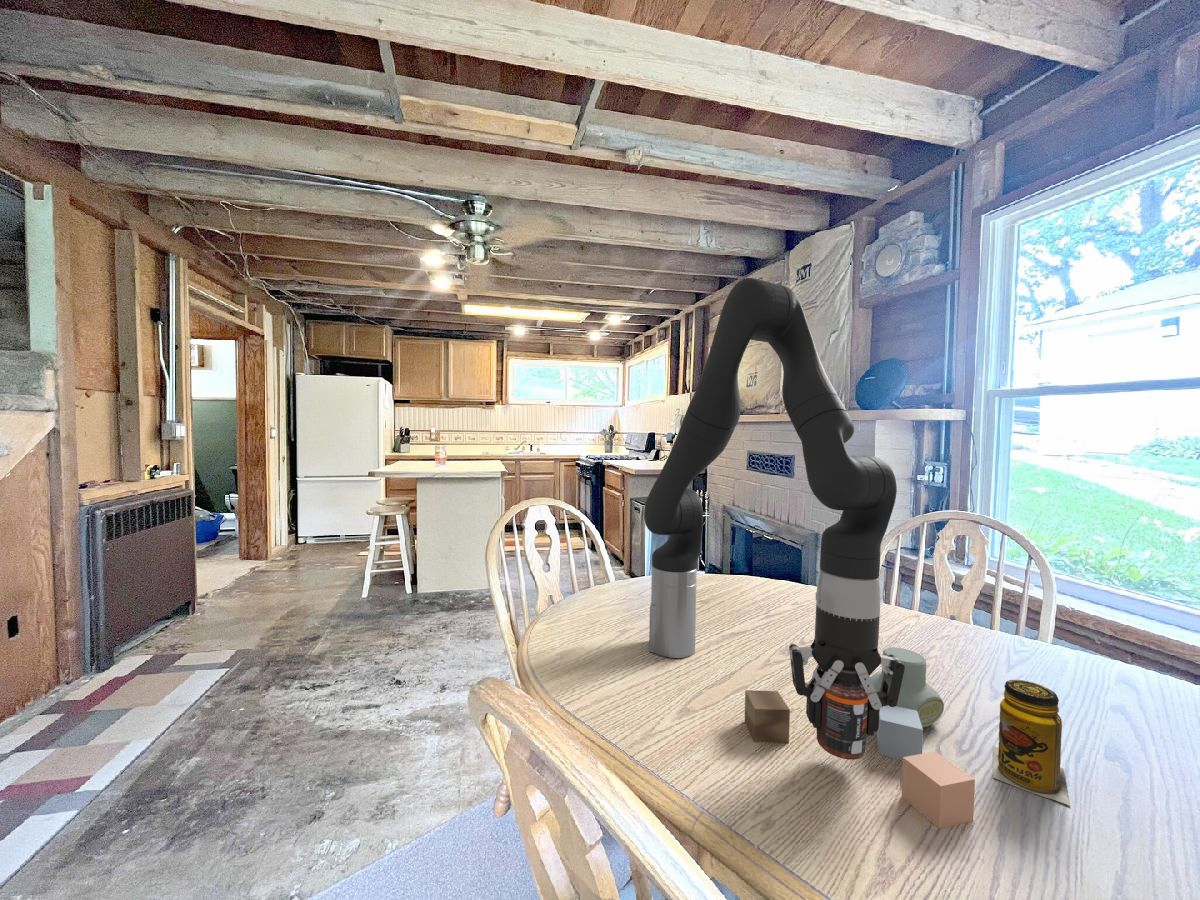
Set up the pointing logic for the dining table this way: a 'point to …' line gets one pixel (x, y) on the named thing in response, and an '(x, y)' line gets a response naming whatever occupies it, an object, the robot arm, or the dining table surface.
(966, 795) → the terracotta block
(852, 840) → the dining table surface
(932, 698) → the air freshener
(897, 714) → the slate block
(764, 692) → the walnut block
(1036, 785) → the condiment
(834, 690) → the supplement bottle
